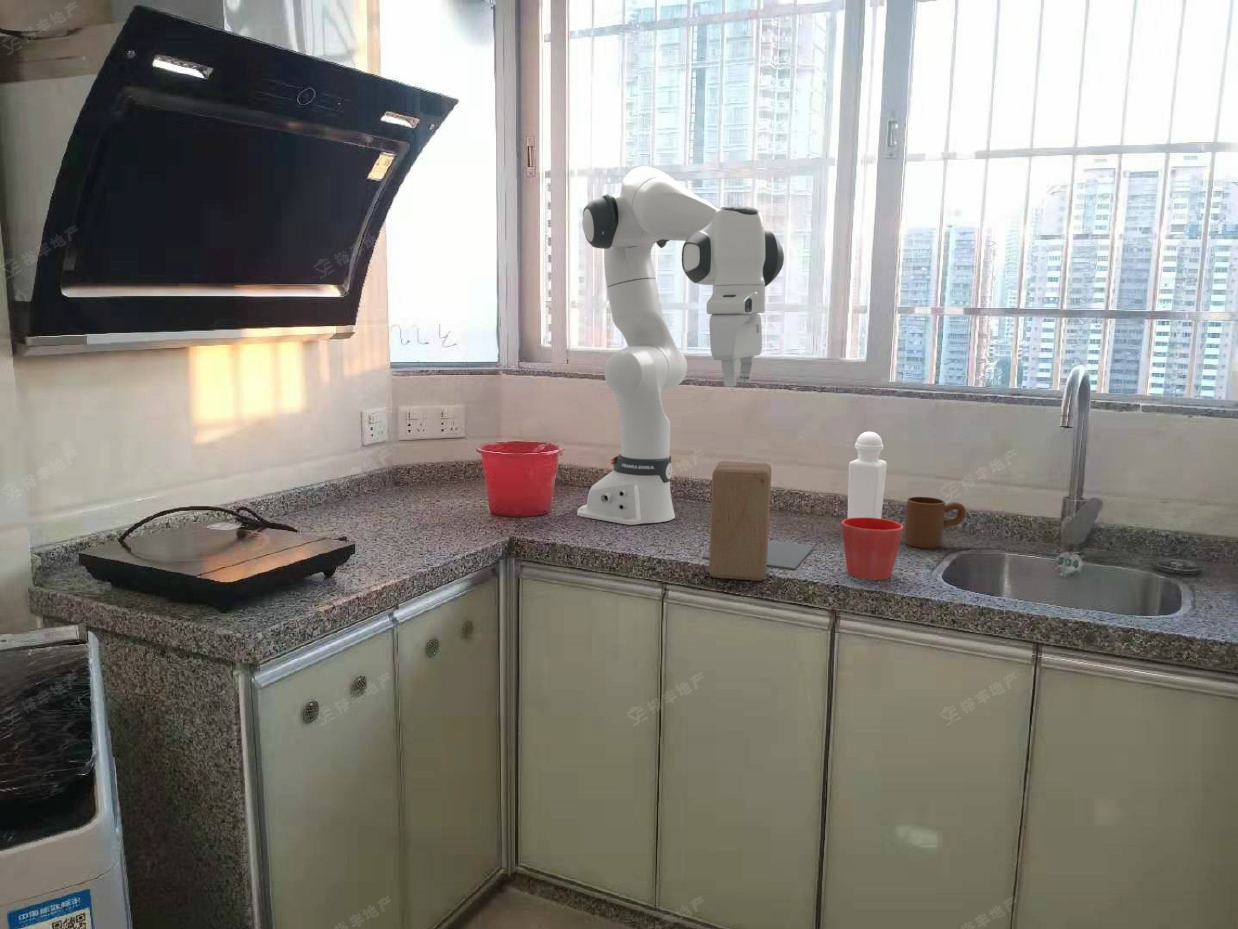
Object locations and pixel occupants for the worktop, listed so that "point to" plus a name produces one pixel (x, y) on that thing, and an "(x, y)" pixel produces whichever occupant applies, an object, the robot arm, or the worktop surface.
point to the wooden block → (740, 520)
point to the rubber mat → (784, 554)
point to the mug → (929, 521)
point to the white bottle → (866, 478)
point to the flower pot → (871, 546)
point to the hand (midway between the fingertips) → (737, 384)
